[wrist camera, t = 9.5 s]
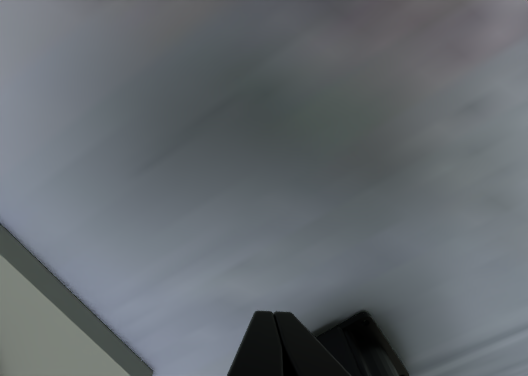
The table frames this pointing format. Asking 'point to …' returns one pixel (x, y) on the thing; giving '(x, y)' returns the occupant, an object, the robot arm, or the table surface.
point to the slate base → (52, 325)
